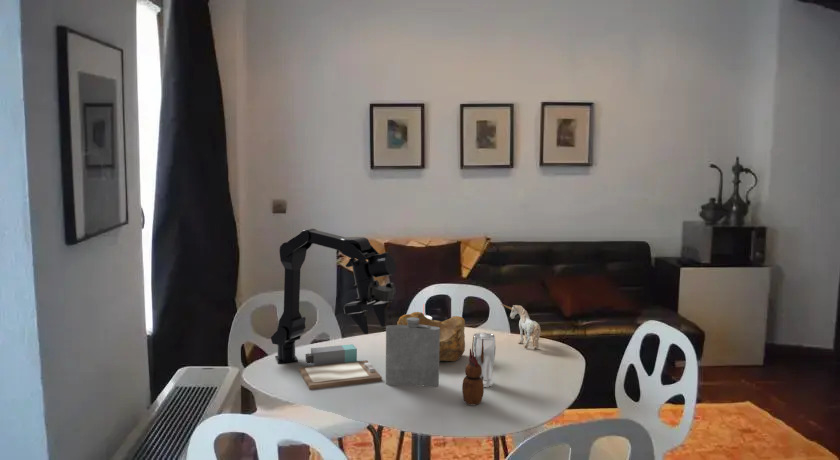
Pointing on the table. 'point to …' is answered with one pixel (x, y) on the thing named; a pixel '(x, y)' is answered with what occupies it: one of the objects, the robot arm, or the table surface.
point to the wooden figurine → (473, 382)
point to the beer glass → (484, 355)
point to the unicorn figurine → (526, 326)
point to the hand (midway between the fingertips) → (375, 330)
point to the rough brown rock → (444, 334)
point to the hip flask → (412, 354)
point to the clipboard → (339, 374)
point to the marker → (332, 355)
